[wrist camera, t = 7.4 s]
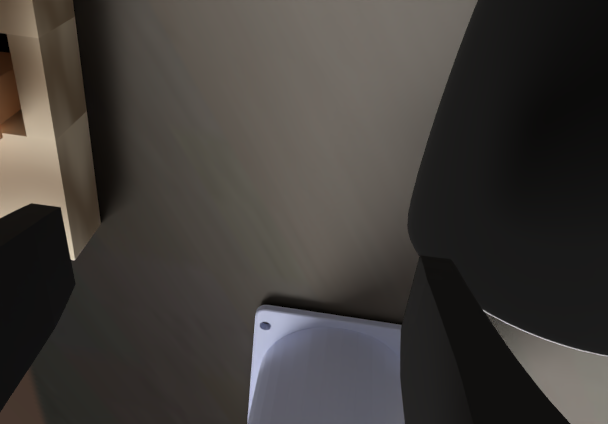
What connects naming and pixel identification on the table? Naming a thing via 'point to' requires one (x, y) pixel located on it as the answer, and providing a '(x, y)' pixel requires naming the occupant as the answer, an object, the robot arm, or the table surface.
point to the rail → (48, 119)
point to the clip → (7, 89)
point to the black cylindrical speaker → (525, 169)
